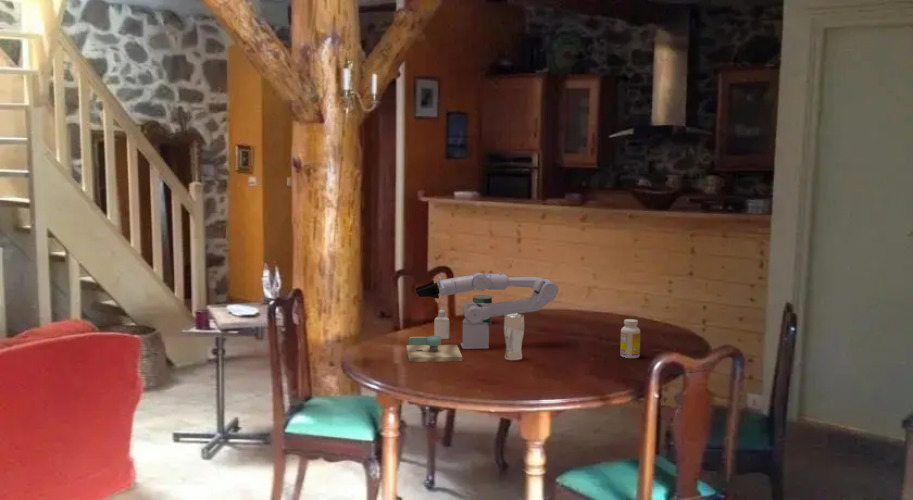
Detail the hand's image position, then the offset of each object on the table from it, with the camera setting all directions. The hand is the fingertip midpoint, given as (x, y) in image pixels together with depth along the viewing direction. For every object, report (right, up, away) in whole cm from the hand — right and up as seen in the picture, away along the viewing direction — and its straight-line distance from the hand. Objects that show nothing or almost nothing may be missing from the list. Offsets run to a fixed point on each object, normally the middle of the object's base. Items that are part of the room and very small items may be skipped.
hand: (417, 292), depth 311 cm
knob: (+3, -18, -9) cm, 20 cm away
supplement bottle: (+74, -22, -7) cm, 78 cm away
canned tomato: (+25, -15, +48) cm, 56 cm away
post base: (+6, -21, -8) cm, 24 cm away
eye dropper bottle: (+8, -19, +18) cm, 27 cm away
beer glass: (+34, -22, -11) cm, 42 cm away
